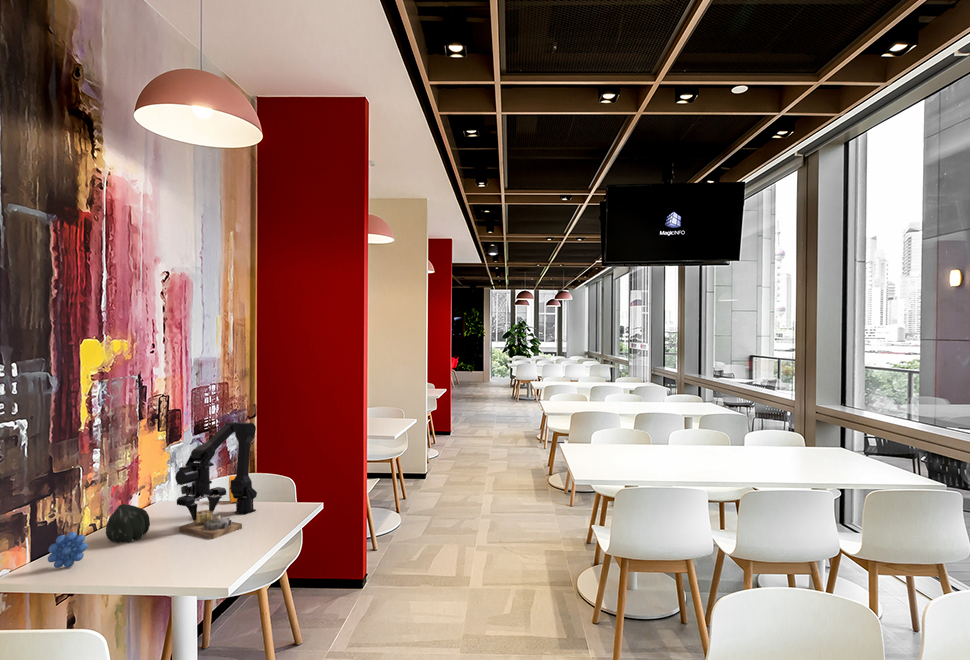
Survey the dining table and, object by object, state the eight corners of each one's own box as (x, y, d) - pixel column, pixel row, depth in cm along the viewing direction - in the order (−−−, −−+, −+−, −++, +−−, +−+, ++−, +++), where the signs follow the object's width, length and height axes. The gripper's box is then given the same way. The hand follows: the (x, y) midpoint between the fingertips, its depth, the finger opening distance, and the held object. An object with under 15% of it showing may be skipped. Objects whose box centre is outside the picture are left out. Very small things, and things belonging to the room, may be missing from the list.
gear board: (208, 522, 242) (208, 506, 242) (241, 528, 232) (241, 512, 232) (179, 531, 230) (179, 515, 230) (213, 538, 220) (213, 521, 220)
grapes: (92, 560, 201) (91, 526, 201) (85, 567, 194) (84, 532, 194) (53, 565, 197) (52, 530, 197) (44, 572, 191) (44, 536, 191)
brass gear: (205, 516, 238) (204, 509, 238) (216, 518, 235) (215, 511, 235) (189, 521, 232) (189, 513, 232) (200, 523, 229) (200, 515, 229)
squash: (161, 516, 232) (132, 492, 229) (152, 529, 218) (121, 503, 215) (132, 543, 229) (102, 518, 226) (121, 558, 215) (89, 532, 211)
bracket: (247, 501, 272) (246, 476, 272) (230, 504, 269) (230, 478, 269) (245, 496, 281) (244, 472, 282) (229, 498, 278) (228, 474, 278)
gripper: (209, 472, 246) (210, 508, 245) (167, 482, 229) (168, 521, 229) (226, 474, 240) (227, 511, 240) (185, 485, 224) (186, 525, 224)
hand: (202, 517), depth 233 cm, fingers closed on brass gear, 7 cm apart
